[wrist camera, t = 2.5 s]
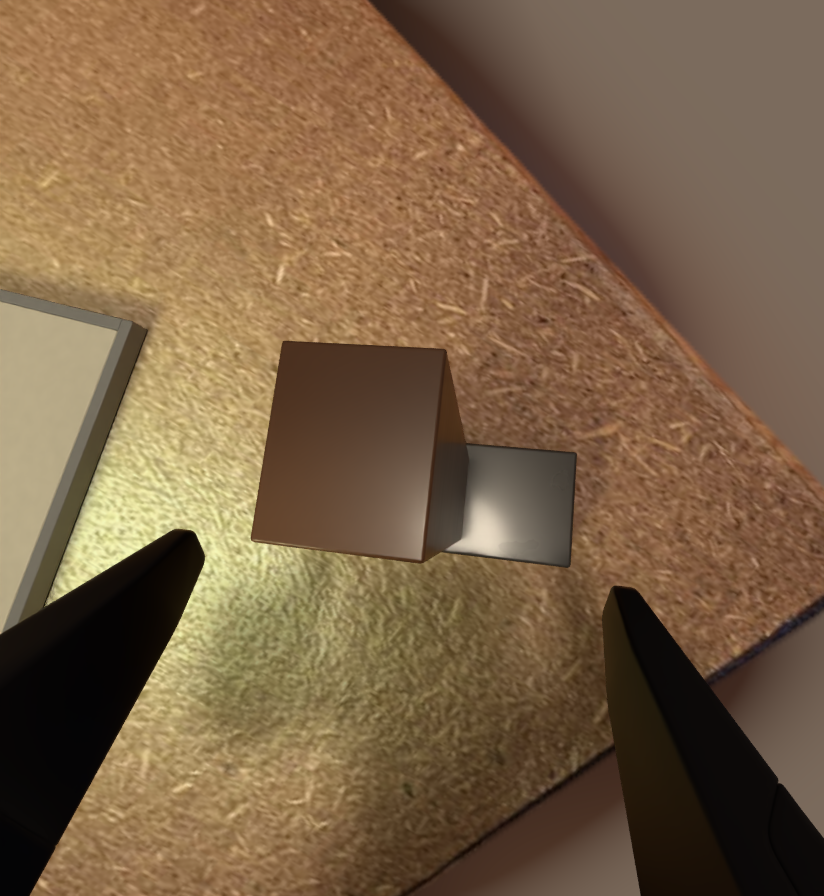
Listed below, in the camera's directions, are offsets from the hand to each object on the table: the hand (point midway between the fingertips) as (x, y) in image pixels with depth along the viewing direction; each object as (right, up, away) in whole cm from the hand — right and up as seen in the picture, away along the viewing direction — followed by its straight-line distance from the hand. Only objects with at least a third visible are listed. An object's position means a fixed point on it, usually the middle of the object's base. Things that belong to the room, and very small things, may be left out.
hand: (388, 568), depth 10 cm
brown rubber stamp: (+2, 0, +9) cm, 10 cm away
